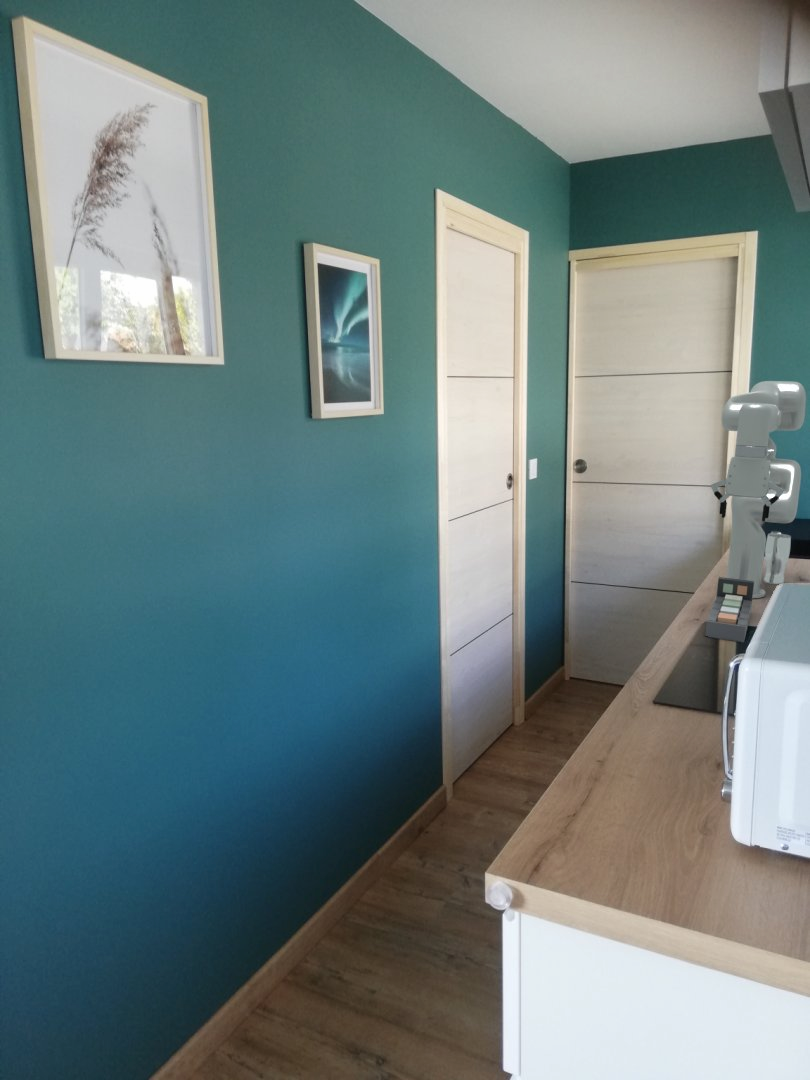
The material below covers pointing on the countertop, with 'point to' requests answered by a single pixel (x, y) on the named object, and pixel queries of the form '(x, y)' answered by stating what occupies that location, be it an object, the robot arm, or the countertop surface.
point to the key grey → (729, 610)
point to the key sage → (731, 604)
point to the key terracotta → (727, 618)
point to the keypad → (740, 628)
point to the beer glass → (776, 557)
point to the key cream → (733, 598)
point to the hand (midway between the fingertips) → (743, 519)
